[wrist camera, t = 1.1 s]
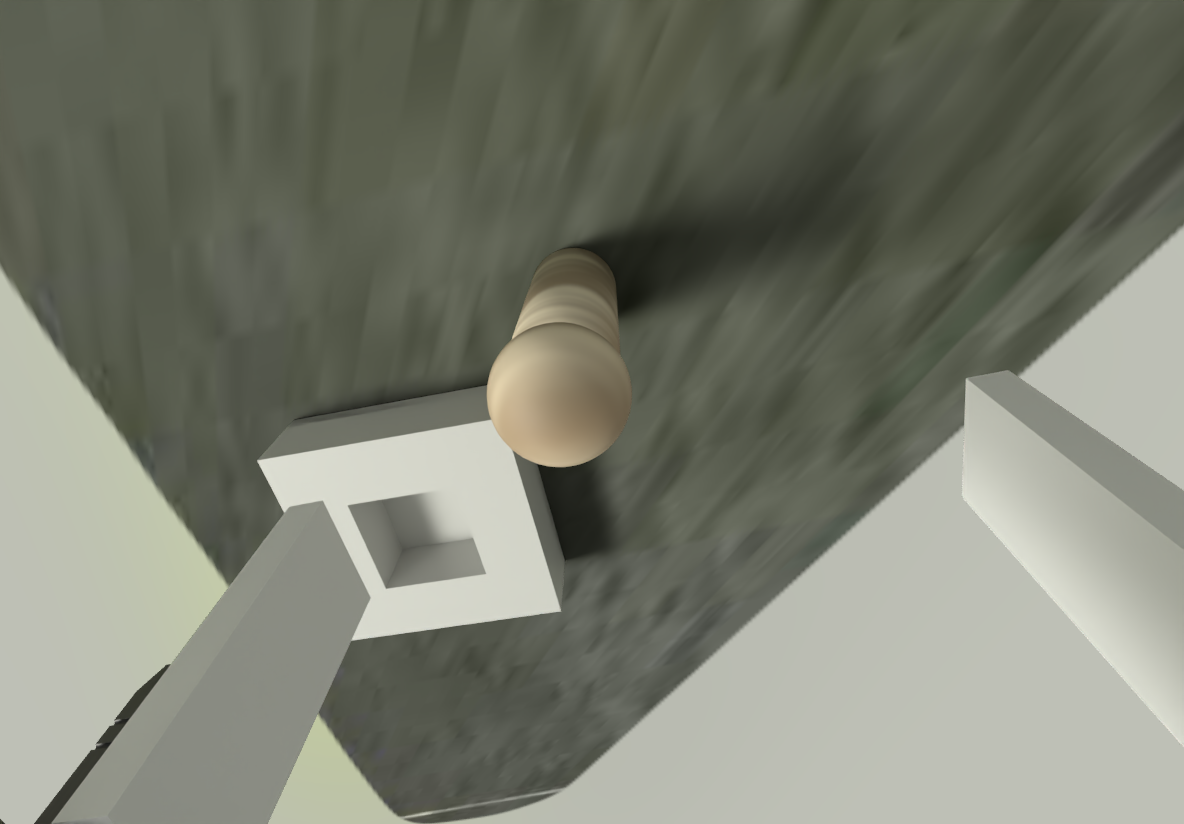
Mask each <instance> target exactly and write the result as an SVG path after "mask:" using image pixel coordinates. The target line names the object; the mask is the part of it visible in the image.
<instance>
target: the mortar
mask: <svg viewBox="0 0 1184 824" xmlns="http://www.w3.org/2000/svg"><path fill="white" fill-rule="evenodd" d="M257 461H258V463H259V465H260V467H261V469H262V471H263V473H264V475H265V476H266V478H267V480H268V482H269V484H270V486H271V488H272V490H273V492H274V494H275V496H276V498H277V500H278V501H279V503H280V505H281V507H282V509H283V511H284V513H285V512H286V511H287V509H288V508H289V507H291V506H296V505H301V504H306V503H312V502H317V501H322V500H323V502H324V504H325V506H326V508H327V510H328V512H329V514H330V516H331V518H332V520H333V522H334V524H335V526H336V528H337V530H338V532H339V534H340V536H341V539H342V541H343V543H344V545H345V547H346V549H347V551H348V553H349V555H350V557H351V559H352V561H353V563H354V565H355V567H356V569H357V571H358V573H359V575H360V577H361V579H362V581H363V583H364V585H365V587H366V589H367V591H368V593H369V595H370V597H371V598H370V601H369V603H368V605H367V607H366V609H365V611H364V614H363V616H362V618H361V620H360V622H359V625H358V627H357V629H356V631H355V633H354V636H353V638H352V640H358V639H365V638H373V637H380V636H387V635H394V634H401V633H408V632H416V631H423V630H430V629H437V628H444V627H451V626H458V625H466V624H473V623H480V622H487V621H494V620H501V619H508V618H516V617H523V616H530V615H537V614H544V613H551V612H559V611H561V606H562V593H563V580H564V567H565V560H564V556H563V553H562V549H561V546H560V542H559V539H558V535H557V531H556V528H555V524H554V521H553V517H552V514H551V510H550V507H549V503H548V500H547V496H546V493H545V489H544V486H543V482H542V479H541V475H540V472H539V468H538V465H537V463H534V462H531V461H529V460H527V459H525V458H523V457H522V456H520V455H518V454H517V453H516V452H514V451H513V450H512V449H511V448H510V447H509V446H508V445H507V444H506V443H505V442H504V441H503V440H502V438H501V437H500V436H499V434H498V433H497V431H496V429H495V427H494V425H493V423H492V420H491V417H490V415H489V410H488V404H487V385H486V386H480V387H475V388H469V389H464V390H458V391H453V392H447V393H441V394H436V395H430V396H425V397H419V398H414V399H408V400H403V401H397V402H391V403H386V404H380V405H375V406H369V407H364V408H358V409H353V410H347V411H341V412H336V413H330V414H325V415H319V416H314V417H308V418H303V419H297V420H293V421H292V422H291V423H290V424H289V426H288V427H287V428H286V429H285V430H284V431H283V432H282V433H281V434H280V436H279V437H278V438H277V439H276V440H275V441H274V442H273V443H272V445H271V446H270V447H269V448H268V449H267V450H266V451H265V452H264V453H263V455H262V456H261V457H260V458H259V459H258V460H257Z"/></svg>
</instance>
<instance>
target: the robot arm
mask: <svg viewBox="0 0 1184 824" xmlns="http://www.w3.org/2000/svg"><path fill="white" fill-rule="evenodd" d="M962 498H963V499H964V500H965V501H966V502H967V503H968V504H969V506H970V507H971V508H972V509H973V510H974V511H975V512H976V513H977V515H978V516H979V517H980V518H981V519H982V520H983V521H984V523H985V524H986V525H987V526H988V527H989V528H990V529H991V530H992V532H993V533H994V534H995V535H996V536H997V537H998V538H999V539H1000V541H1001V542H1002V543H1003V544H1004V545H1005V546H1006V547H1007V548H1008V550H1009V551H1010V552H1011V553H1012V554H1013V555H1014V556H1015V557H1016V559H1017V560H1018V561H1019V562H1020V563H1021V564H1022V565H1023V567H1024V568H1025V569H1026V570H1027V571H1028V572H1029V573H1030V574H1031V576H1032V577H1033V578H1034V579H1035V580H1036V581H1037V582H1038V583H1039V585H1040V586H1041V587H1042V588H1043V589H1044V590H1045V591H1046V592H1047V593H1048V595H1049V596H1050V597H1051V598H1052V599H1053V600H1054V601H1055V603H1056V604H1057V605H1058V606H1059V607H1060V608H1061V609H1062V610H1063V612H1064V613H1065V614H1066V615H1067V616H1068V617H1069V618H1070V620H1071V621H1072V622H1073V623H1074V624H1075V625H1076V626H1077V627H1078V628H1079V630H1080V631H1081V632H1082V633H1083V634H1084V635H1085V636H1086V638H1087V639H1088V640H1089V641H1090V642H1091V643H1092V644H1093V645H1094V647H1095V648H1096V649H1097V650H1098V651H1099V652H1100V653H1101V655H1102V656H1103V657H1104V658H1105V659H1106V660H1107V661H1108V662H1109V664H1110V665H1111V666H1112V667H1113V668H1114V669H1115V670H1116V671H1117V673H1118V674H1119V675H1120V676H1121V677H1122V678H1123V679H1124V680H1125V682H1126V683H1127V684H1128V685H1129V686H1130V687H1131V688H1132V689H1133V691H1134V692H1135V693H1136V694H1137V695H1138V696H1139V697H1140V699H1141V700H1142V701H1143V702H1144V703H1145V704H1146V705H1147V706H1148V708H1149V709H1150V710H1151V711H1152V712H1153V713H1154V714H1155V715H1156V717H1157V718H1158V719H1159V720H1160V721H1161V722H1162V723H1163V724H1164V726H1165V727H1166V728H1167V729H1168V730H1169V731H1170V732H1171V733H1172V735H1173V736H1174V737H1175V738H1176V739H1177V740H1178V741H1179V743H1180V744H1181V745H1182V746H1183V747H1184V491H1183V490H1182V489H1180V488H1179V487H1177V486H1176V485H1175V484H1173V483H1172V482H1170V481H1169V480H1167V479H1166V478H1164V477H1163V476H1162V475H1160V474H1159V473H1157V472H1155V471H1154V470H1153V469H1151V468H1150V467H1148V466H1147V465H1146V464H1144V463H1143V462H1141V461H1140V460H1138V459H1137V458H1135V457H1134V456H1132V455H1131V454H1130V453H1128V452H1127V451H1125V450H1124V449H1122V448H1121V447H1119V446H1118V445H1116V444H1115V443H1113V442H1112V441H1111V440H1109V439H1108V438H1106V437H1105V436H1103V435H1102V434H1100V433H1099V432H1098V431H1096V430H1095V429H1093V428H1092V427H1090V426H1089V425H1087V424H1086V423H1084V422H1083V421H1082V420H1080V419H1079V418H1077V417H1076V416H1074V415H1073V414H1071V413H1070V412H1068V411H1067V410H1066V409H1064V408H1063V407H1061V406H1060V405H1058V404H1057V403H1055V402H1054V401H1052V400H1051V399H1049V398H1048V397H1047V396H1045V395H1044V394H1042V393H1041V392H1039V391H1038V390H1036V389H1035V388H1033V387H1032V386H1031V385H1029V384H1027V383H1026V382H1025V381H1023V380H1022V379H1020V378H1019V377H1017V376H1016V375H1015V374H1013V373H1012V372H1010V371H1009V370H1007V371H1002V372H996V373H991V374H986V375H981V376H975V377H970V378H966V393H965V422H964V452H963V482H962ZM370 598H371V597H370V595H369V593H368V591H367V589H366V587H365V585H364V583H363V581H362V579H361V577H360V575H359V573H358V571H357V569H356V567H355V565H354V563H353V561H352V559H351V557H350V555H349V553H348V551H347V549H346V547H345V545H344V543H343V541H342V539H341V536H340V534H339V532H338V530H337V528H336V526H335V524H334V522H333V520H332V518H331V516H330V514H329V512H328V510H327V508H326V506H325V504H324V502H323V500H322V501H317V502H312V503H306V504H301V505H296V506H291V507H289V508H288V509H287V511H286V512H285V513H284V515H283V516H282V517H281V519H280V520H279V521H278V522H277V524H276V525H275V526H274V528H273V529H272V530H271V532H270V533H269V534H268V536H267V537H266V538H265V540H264V541H263V542H262V544H261V545H260V546H259V548H258V549H257V550H256V552H255V553H254V554H253V556H252V557H251V558H250V560H249V561H248V562H247V564H246V565H245V566H244V568H243V569H242V570H241V572H240V573H239V574H238V576H237V577H236V578H235V580H234V581H233V582H232V584H231V585H230V586H229V588H228V589H227V590H226V592H225V593H224V594H223V596H222V597H221V598H220V600H219V601H218V602H217V604H216V605H215V606H214V608H213V609H212V610H211V612H210V613H209V614H208V616H207V617H206V618H205V620H204V621H203V622H202V624H201V625H200V626H199V628H198V629H197V630H196V632H195V633H194V634H193V635H192V637H191V638H190V639H189V641H188V642H187V644H186V645H185V646H184V647H183V649H182V650H181V651H180V653H179V654H178V656H177V657H176V658H175V660H174V661H173V662H172V664H169V665H166V666H165V667H164V668H163V669H161V670H160V671H159V672H158V673H157V674H156V675H155V676H153V677H152V678H151V679H150V680H149V681H148V682H147V683H146V684H144V685H143V686H142V687H141V688H140V689H139V690H138V691H137V692H136V693H135V694H134V696H133V697H132V698H131V699H130V701H129V702H128V703H127V705H126V706H125V707H124V708H123V710H122V711H121V712H120V714H119V715H118V716H117V717H116V719H115V720H114V721H115V724H114V725H113V726H109V728H108V729H107V730H106V732H105V733H104V734H103V736H102V737H101V738H100V739H99V741H98V742H97V743H96V749H95V750H91V751H90V753H89V754H88V755H87V757H85V759H84V760H83V761H82V763H81V764H80V765H79V767H78V768H77V769H76V770H75V772H74V773H73V774H72V775H71V777H70V778H69V779H68V781H67V782H66V783H65V785H64V786H63V787H62V789H61V790H60V791H59V792H58V794H57V795H56V796H55V797H54V799H53V800H52V802H51V803H50V804H49V805H48V807H47V808H46V809H45V810H44V812H43V813H42V814H41V816H40V817H39V818H38V819H37V821H36V822H35V823H34V824H268V822H269V820H270V817H271V815H272V813H273V811H274V809H275V806H276V804H277V802H278V800H279V798H280V796H281V793H282V791H283V789H284V787H285V785H286V782H287V780H288V778H289V776H290V774H291V771H292V769H293V767H294V764H295V763H296V760H297V758H298V756H299V754H300V752H301V749H302V747H303V745H304V743H305V741H306V738H307V736H308V734H309V732H310V730H311V727H312V725H313V723H314V721H315V719H316V717H317V714H318V712H319V710H320V708H321V706H322V703H323V701H324V699H325V697H326V695H327V693H328V690H329V688H330V686H331V684H332V682H333V679H334V677H335V675H336V673H337V671H338V668H339V666H340V664H341V662H342V660H343V657H344V655H345V653H346V651H347V649H348V647H349V644H350V642H351V640H352V638H353V636H354V633H355V631H356V629H357V627H358V625H359V622H360V620H361V618H362V616H363V614H364V611H365V609H366V607H367V605H368V603H369V601H370ZM0 824H5V823H4V822H3V821H2V820H1V819H0Z"/></svg>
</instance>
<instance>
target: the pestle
mask: <svg viewBox="0 0 1184 824" xmlns="http://www.w3.org/2000/svg"><path fill="white" fill-rule="evenodd" d="M631 402H632V388H631V381H630V377H629V373H628V370H627V367H626V365H625V363H624V361H623V359H622V358H621V356H620V343H619V327H618V311H617V294H616V283H615V279H614V276H613V273H612V271H611V269H610V267H609V266H608V265H607V263H606V262H605V261H604V260H603V259H602V258H600V257H599V256H598V255H596V254H595V253H593V252H590V251H588V250H585V249H581V248H566V249H561V250H558V251H556V252H554V253H552V254H550V255H549V256H547V257H546V258H545V259H544V260H543V261H542V262H541V263H540V265H539V266H538V267H537V269H536V271H535V273H534V276H533V279H532V282H531V285H530V288H529V291H528V294H527V296H526V299H525V302H524V305H523V308H522V311H521V314H520V317H519V320H518V323H517V325H516V328H515V331H514V334H513V337H512V340H511V341H510V342H509V343H508V344H507V345H506V346H505V347H504V348H503V349H502V351H501V352H500V353H499V355H498V357H497V358H496V360H495V362H494V364H493V366H492V369H491V371H490V375H489V379H488V384H487V404H488V410H489V415H490V417H491V420H492V423H493V425H494V427H495V429H496V431H497V433H498V434H499V436H500V437H501V438H502V440H503V441H504V442H505V443H506V444H507V445H508V446H509V447H510V448H511V449H512V450H513V451H514V452H516V453H517V454H518V455H520V456H522V457H523V458H525V459H527V460H529V461H531V462H534V463H537V464H540V465H544V466H551V467H569V466H575V465H579V464H582V463H585V462H588V461H590V460H592V459H594V458H595V457H597V456H599V455H600V454H602V453H603V452H604V451H606V450H607V449H608V448H609V447H610V446H611V445H612V444H613V443H614V442H615V441H616V439H617V438H618V436H619V435H620V434H621V432H622V430H623V428H624V426H625V424H626V422H627V419H628V416H629V413H630V409H631Z"/></svg>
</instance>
